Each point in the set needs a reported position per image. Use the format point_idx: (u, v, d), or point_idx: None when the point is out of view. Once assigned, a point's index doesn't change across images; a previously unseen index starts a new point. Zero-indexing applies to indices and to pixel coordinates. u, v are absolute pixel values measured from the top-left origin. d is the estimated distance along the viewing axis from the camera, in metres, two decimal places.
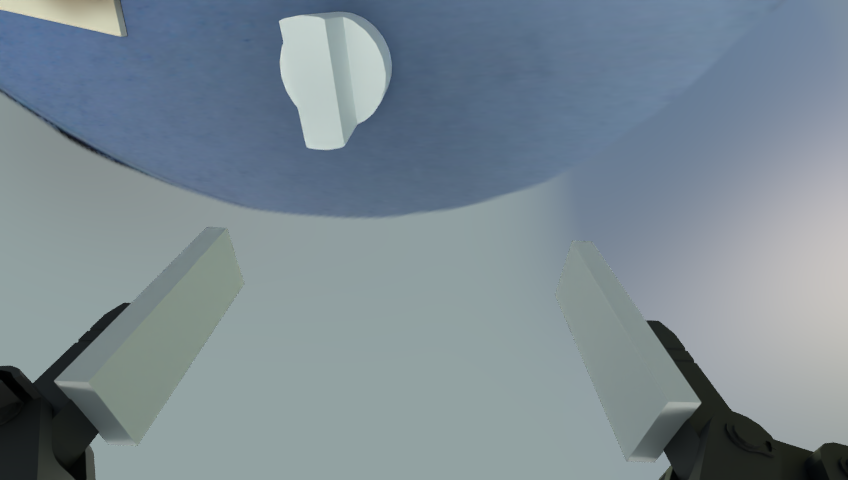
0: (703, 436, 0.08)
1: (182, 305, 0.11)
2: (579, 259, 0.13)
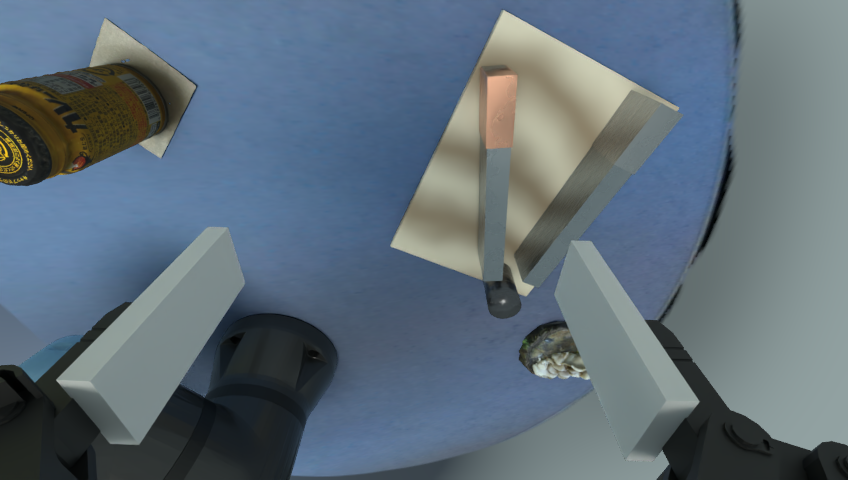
0: (701, 435, 0.08)
1: (183, 304, 0.11)
2: (578, 259, 0.13)
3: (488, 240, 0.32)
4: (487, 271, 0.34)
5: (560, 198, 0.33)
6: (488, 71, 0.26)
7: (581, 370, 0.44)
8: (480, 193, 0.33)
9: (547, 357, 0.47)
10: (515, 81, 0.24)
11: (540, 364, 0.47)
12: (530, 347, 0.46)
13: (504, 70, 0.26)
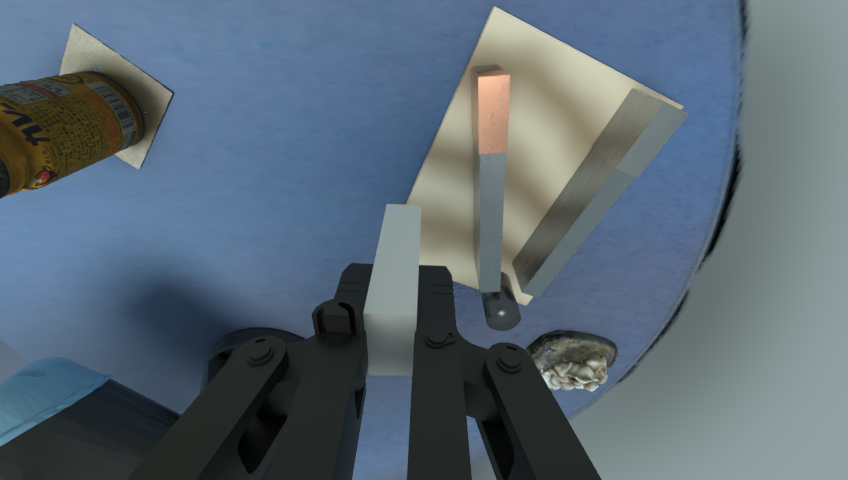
0: (413, 354, 0.09)
1: None
2: (402, 219, 0.15)
3: (484, 250, 0.30)
4: (484, 282, 0.32)
5: (559, 203, 0.32)
6: (479, 71, 0.24)
7: (585, 382, 0.42)
8: (475, 200, 0.31)
9: (550, 368, 0.46)
10: (508, 81, 0.23)
11: (543, 375, 0.45)
12: (532, 358, 0.45)
13: (496, 70, 0.24)
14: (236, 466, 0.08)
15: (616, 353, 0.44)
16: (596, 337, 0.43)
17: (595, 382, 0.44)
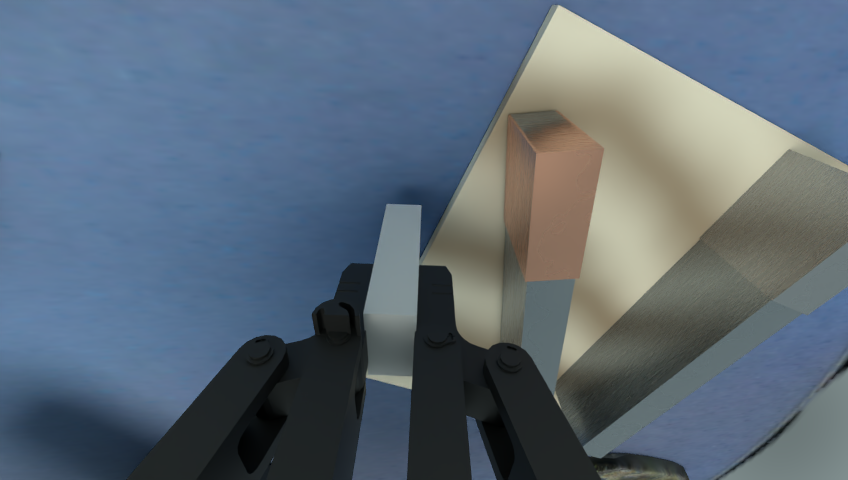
0: None
1: None
2: (402, 219, 0.15)
3: None
4: None
5: (639, 319, 0.20)
6: (530, 131, 0.13)
7: None
8: (505, 317, 0.19)
9: None
10: (597, 161, 0.11)
11: None
12: None
13: (564, 129, 0.12)
14: (237, 466, 0.08)
15: None
16: (661, 462, 0.31)
17: None
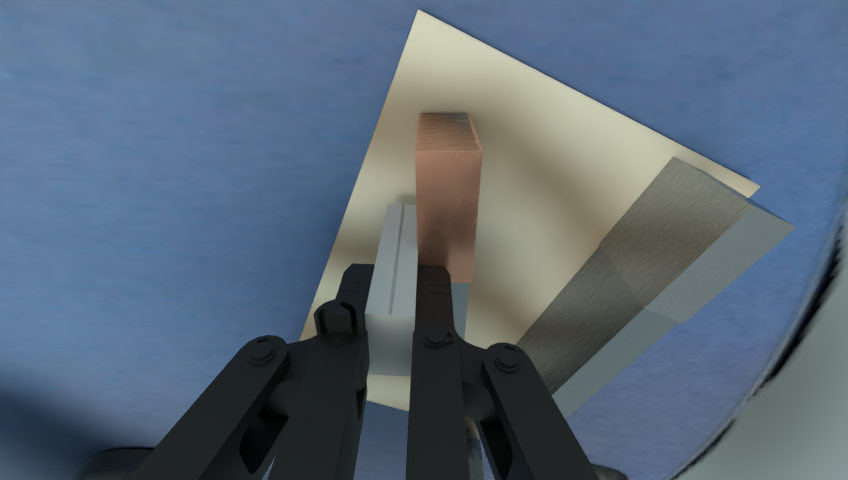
0: None
1: None
2: (401, 219, 0.15)
3: None
4: None
5: (547, 325, 0.20)
6: (427, 130, 0.12)
7: None
8: None
9: None
10: (477, 164, 0.11)
11: None
12: None
13: (460, 131, 0.12)
14: (238, 466, 0.08)
15: None
16: (602, 470, 0.31)
17: None
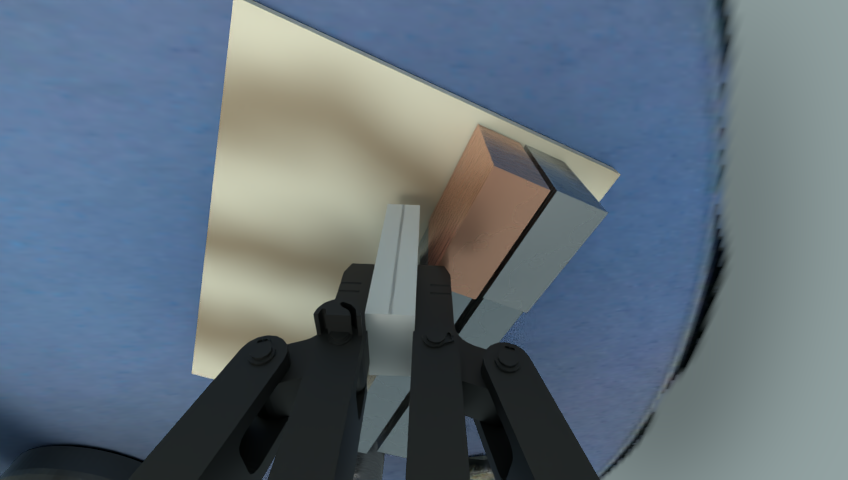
0: (412, 354, 0.09)
1: None
2: (400, 219, 0.15)
3: (368, 404, 0.18)
4: None
5: None
6: (493, 147, 0.13)
7: None
8: None
9: None
10: (539, 199, 0.11)
11: None
12: None
13: (521, 160, 0.13)
14: (238, 466, 0.08)
15: None
16: None
17: None
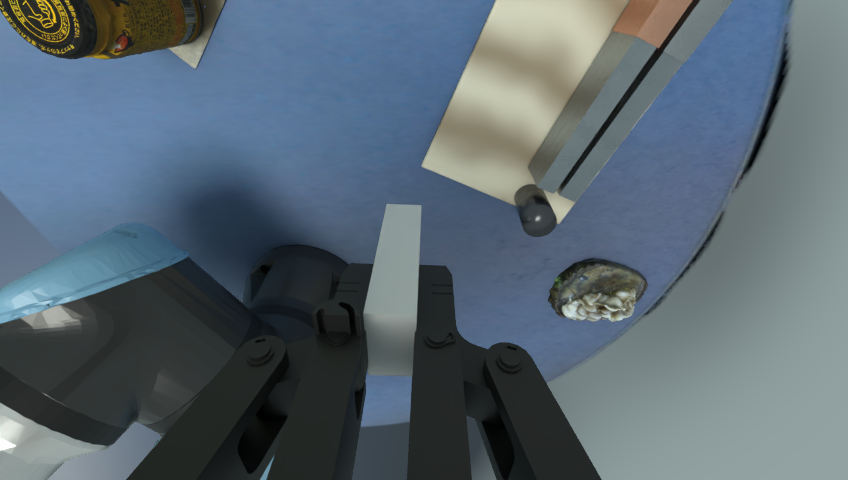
0: None
1: None
2: (402, 219, 0.15)
3: (570, 142, 0.30)
4: (547, 177, 0.32)
5: None
6: None
7: (614, 309, 0.44)
8: (576, 97, 0.32)
9: (578, 298, 0.47)
10: None
11: (571, 304, 0.47)
12: (562, 286, 0.46)
13: None
14: (237, 466, 0.08)
15: (646, 286, 0.45)
16: (628, 268, 0.44)
17: (622, 312, 0.45)
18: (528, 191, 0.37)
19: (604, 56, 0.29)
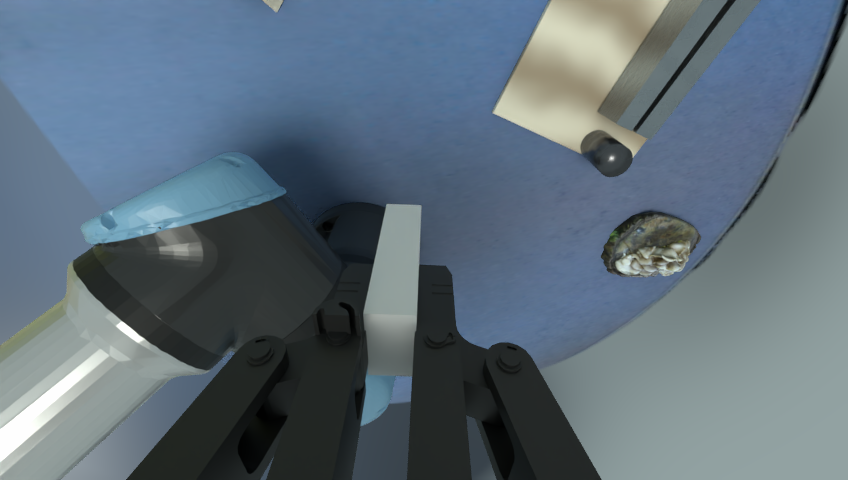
0: None
1: None
2: (402, 219, 0.15)
3: (654, 75, 0.32)
4: (627, 113, 0.33)
5: None
6: None
7: (672, 260, 0.45)
8: (654, 35, 0.33)
9: (632, 252, 0.48)
10: None
11: (625, 258, 0.48)
12: (618, 239, 0.47)
13: None
14: (237, 466, 0.08)
15: (699, 238, 0.46)
16: None
17: (677, 264, 0.46)
18: (598, 135, 0.38)
19: None
